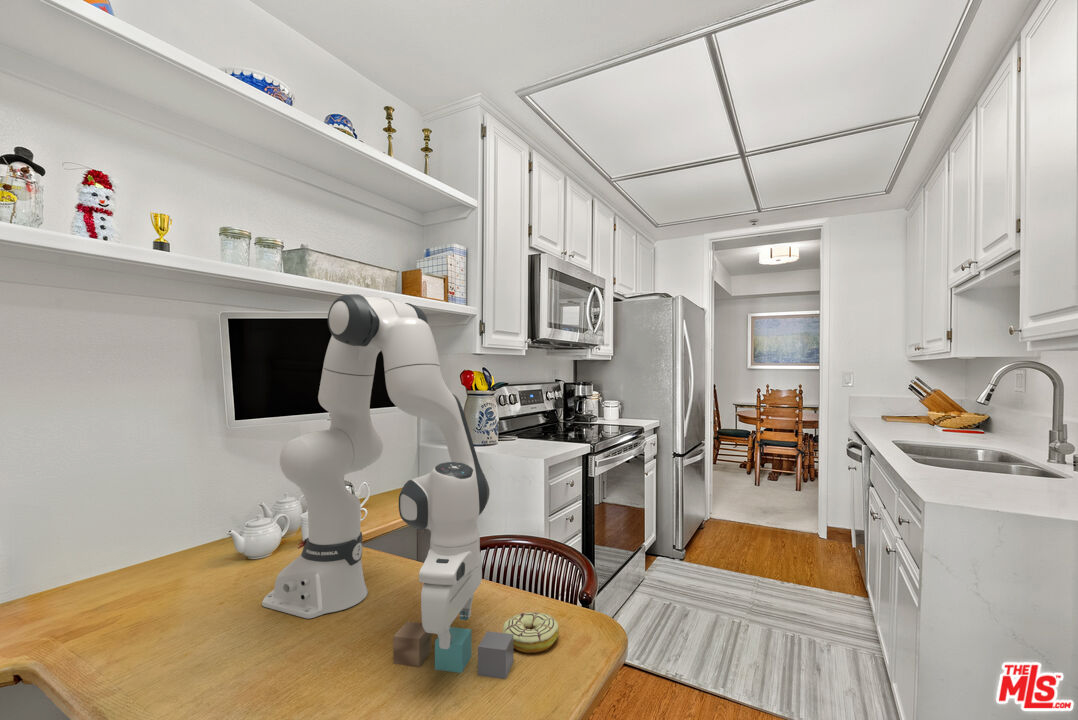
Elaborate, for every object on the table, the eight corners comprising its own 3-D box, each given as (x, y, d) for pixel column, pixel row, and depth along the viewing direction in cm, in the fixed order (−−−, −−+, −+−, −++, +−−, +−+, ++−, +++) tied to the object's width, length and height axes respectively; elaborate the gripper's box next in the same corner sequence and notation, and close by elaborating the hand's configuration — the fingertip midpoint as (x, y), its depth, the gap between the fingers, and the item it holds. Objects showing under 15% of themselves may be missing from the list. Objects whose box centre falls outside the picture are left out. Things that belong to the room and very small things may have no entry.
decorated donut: (518, 621, 101) (518, 603, 101) (566, 633, 97) (566, 614, 97) (493, 647, 92) (493, 627, 92) (544, 662, 87) (544, 641, 87)
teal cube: (434, 669, 85) (434, 641, 85) (446, 653, 90) (446, 626, 90) (461, 673, 84) (461, 644, 84) (471, 656, 89) (471, 629, 89)
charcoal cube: (478, 675, 83) (478, 646, 83) (487, 658, 88) (486, 631, 88) (505, 679, 82) (505, 650, 82) (513, 662, 87) (513, 634, 87)
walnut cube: (393, 664, 87) (393, 636, 87) (406, 648, 92) (406, 621, 92) (419, 667, 86) (419, 639, 86) (431, 651, 90) (431, 624, 91)
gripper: (459, 534, 98) (460, 602, 98) (413, 577, 78) (414, 663, 78) (489, 535, 97) (490, 605, 96) (450, 579, 77) (451, 667, 76)
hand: (456, 631), depth 87 cm, fingers open, 8 cm apart
